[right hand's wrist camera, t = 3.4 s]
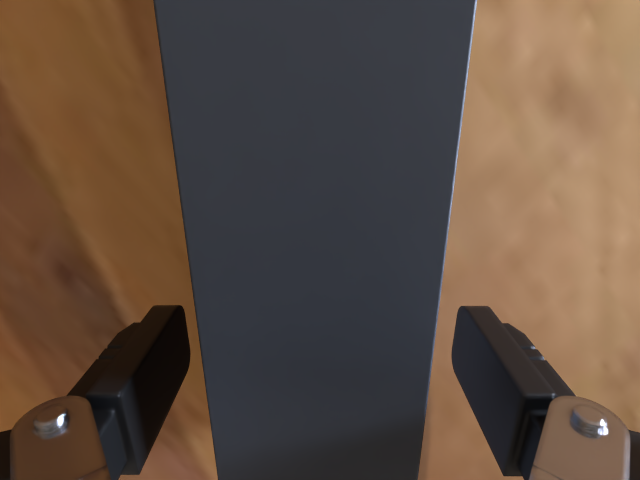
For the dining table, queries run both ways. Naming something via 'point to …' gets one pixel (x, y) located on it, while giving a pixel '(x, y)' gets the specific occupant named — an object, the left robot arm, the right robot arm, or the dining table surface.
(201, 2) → the bar
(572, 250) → the dining table surface
